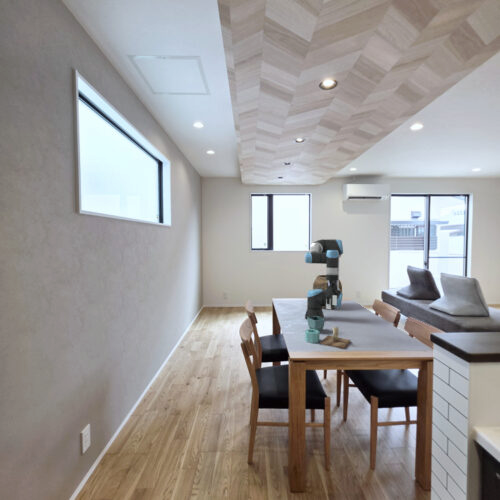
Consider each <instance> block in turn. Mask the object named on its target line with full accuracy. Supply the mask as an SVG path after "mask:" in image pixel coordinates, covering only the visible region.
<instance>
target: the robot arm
mask: <svg viewBox="0 0 500 500" xmlns="http://www.w3.org/2000/svg"><path fill="white" fill-rule="evenodd" d="M342 255H344V246H343V241H342V240H341V239H335V238H334V239H327V238H326V239H318V240H316V241H314V242H313V243H311V245H310V251H309V252H305V253H304V261H305V263H306V264H309V265H310V264H316V265H317V264H321V265H323V264H324V265H326V266H325V270H326V271H325V273H326V274H325V275H326V280H328V282H327V288H326V289H325V292H323V291H322V290H321V289H314V290H313V289H311V290H308V291H307V295H306V298H307V302H306V303H307V305H306V308H307V309H306V311H305V314H304V319H306V320H307V317H313V316H318V317H321V318H324V319H325V314H324V312H323V309H322V306H324V307H326V309H325V310H328V309H330V310H332V309H331V307H334V309H335V308H341V306H342V302H343V301H342V300H343V292H342V293H341V290H340V289H339V280H340V258H341V257H342Z"/></svg>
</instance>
